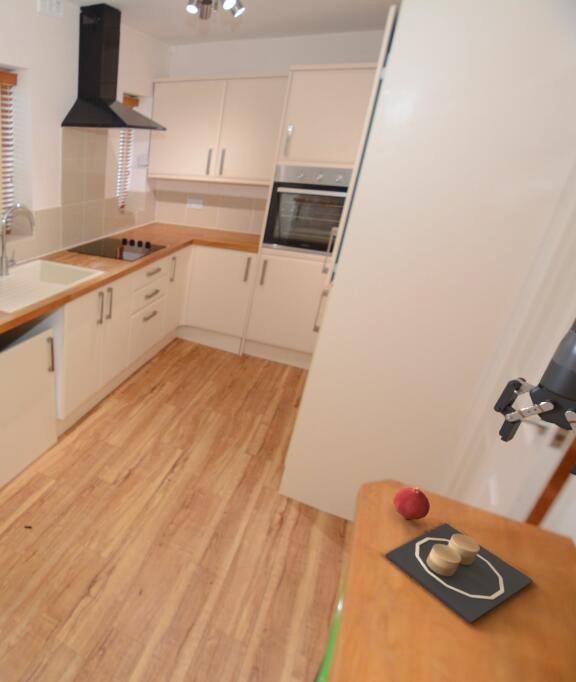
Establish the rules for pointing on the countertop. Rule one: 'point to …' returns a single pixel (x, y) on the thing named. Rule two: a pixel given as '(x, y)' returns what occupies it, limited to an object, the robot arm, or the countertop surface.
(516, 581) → the slate board
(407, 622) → the countertop surface
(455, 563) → the dot
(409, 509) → the onion
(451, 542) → the dot
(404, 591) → the countertop surface
